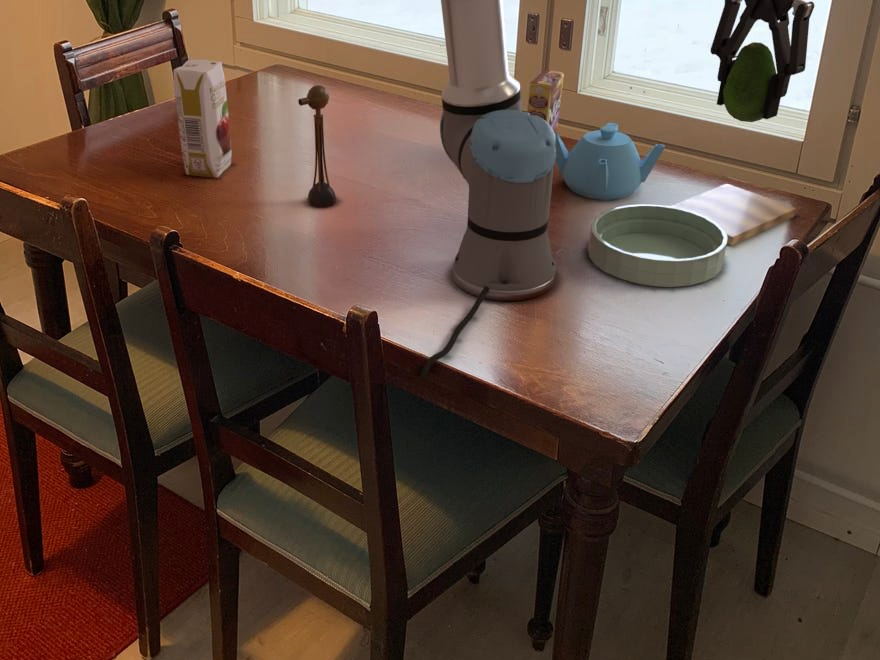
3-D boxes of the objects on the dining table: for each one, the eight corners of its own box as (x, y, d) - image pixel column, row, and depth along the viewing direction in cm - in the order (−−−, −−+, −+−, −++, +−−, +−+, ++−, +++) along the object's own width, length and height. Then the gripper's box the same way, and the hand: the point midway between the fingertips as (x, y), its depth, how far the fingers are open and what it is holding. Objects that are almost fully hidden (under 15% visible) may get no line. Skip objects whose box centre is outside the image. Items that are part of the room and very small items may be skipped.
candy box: (543, 167, 187) (551, 85, 178) (521, 164, 188) (527, 82, 179) (556, 152, 194) (564, 71, 185) (535, 148, 195) (542, 68, 186)
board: (731, 245, 160) (733, 237, 159) (660, 217, 169) (662, 209, 168) (794, 216, 169) (796, 208, 169) (724, 191, 178) (726, 183, 177)
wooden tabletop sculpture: (313, 211, 170) (307, 93, 158) (297, 202, 173) (291, 85, 161) (341, 202, 173) (337, 86, 161) (325, 194, 176) (321, 79, 164)
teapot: (663, 194, 177) (673, 134, 171) (596, 210, 171) (604, 149, 165) (607, 166, 188) (614, 108, 182) (542, 180, 182) (547, 122, 175)
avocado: (726, 110, 163) (741, 33, 156) (775, 118, 160) (792, 40, 153) (711, 124, 157) (726, 45, 150) (762, 133, 154) (779, 53, 147)
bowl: (665, 302, 144) (670, 274, 142) (561, 253, 157) (563, 226, 155) (748, 262, 155) (754, 235, 153) (644, 219, 168) (648, 194, 165)
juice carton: (180, 176, 182) (167, 70, 171) (199, 159, 189) (187, 56, 178) (219, 180, 181) (208, 73, 170) (236, 163, 188) (227, 59, 177)
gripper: (858, -40, 140) (818, 122, 153) (733, -61, 153) (706, 89, 166) (828, -33, 136) (790, 132, 149) (702, -55, 149) (678, 98, 162)
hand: (746, 109), depth 157 cm, fingers closed on avocado, 8 cm apart
